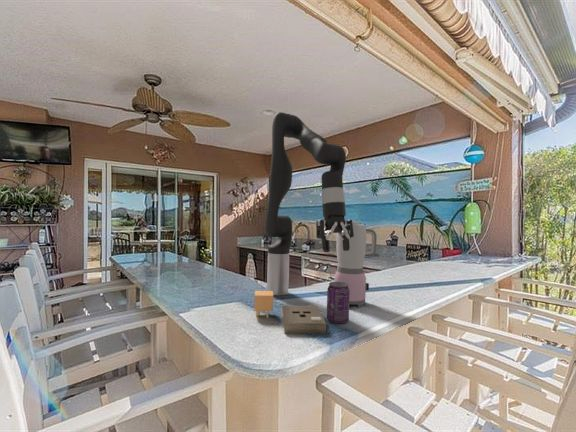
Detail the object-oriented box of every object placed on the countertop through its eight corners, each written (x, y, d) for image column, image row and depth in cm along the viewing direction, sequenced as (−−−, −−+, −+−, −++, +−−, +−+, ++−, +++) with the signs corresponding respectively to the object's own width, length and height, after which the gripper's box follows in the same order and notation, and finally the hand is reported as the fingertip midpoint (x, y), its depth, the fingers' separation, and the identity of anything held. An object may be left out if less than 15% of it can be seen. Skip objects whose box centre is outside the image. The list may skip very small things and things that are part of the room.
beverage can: (333, 315, 102) (334, 280, 102) (352, 320, 98) (353, 283, 98) (322, 320, 97) (323, 283, 97) (341, 326, 92) (343, 287, 92)
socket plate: (281, 314, 101) (281, 303, 101) (316, 314, 102) (316, 304, 102) (284, 333, 86) (284, 321, 85) (325, 333, 86) (326, 321, 86)
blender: (332, 306, 112) (334, 220, 112) (333, 297, 124) (336, 220, 124) (375, 309, 109) (378, 222, 109) (373, 300, 121) (375, 221, 121)
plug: (272, 312, 103) (272, 291, 103) (272, 318, 97) (273, 295, 97) (254, 312, 103) (255, 290, 102) (254, 318, 97) (254, 295, 97)
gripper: (341, 205, 107) (344, 250, 105) (309, 203, 99) (312, 252, 97) (356, 201, 101) (360, 250, 99) (324, 199, 93) (327, 252, 91)
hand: (336, 251), depth 98 cm, fingers open, 8 cm apart
